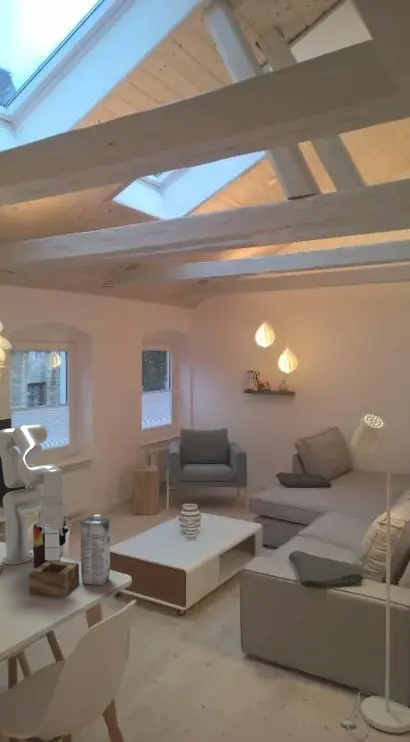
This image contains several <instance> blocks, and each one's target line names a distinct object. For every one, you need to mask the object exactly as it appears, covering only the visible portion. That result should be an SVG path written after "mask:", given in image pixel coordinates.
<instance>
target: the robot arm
mask: <svg viewBox="0 0 410 742" xmlns="http://www.w3.org/2000/svg"><path fill="white" fill-rule="evenodd" d="M47 438H48V431H47V428H46V427H45V426H44V425H43V424H41V423H34V424H33V423H32V424H24V425H19V426H17V427H16V426H15V427H9V428H3V429H1V430H0V458H1V465H2V473H3V475H2V476H3V482H4V485H5V486H6V488H10V489H13V488H21V487H27V486H28V487H29V488H24V489H16V490H12V491H8V492H7V493H5V495H4V496H3V498H2V505H3V510H4V516H5V517H4V518H5V519H4V520H5V553H6V554H5V556H3V558H2V563H3V564H4V565H5V564H6V565H9V566H10V565H11V566H16V565H22V564H26V563H28V562H30V561H31V560H33V554H31V553H30V551H31V550H33V544H30V545H29V525H28V524H29V521H28V518H27V516H25V514H24V513H23V512H25V511H30V510H34V509H37V508H40V510H39V511H40V519H39V518H38V520H37V521H36V522H35V523H36V526H37V527H38V528H39V530H40V531H41V534H43V544H45V524H49V525H50V528H51V529H54V530H59V532H60V534H61V535H60V536H59V541H60V546H62V545H63V546H64V545H65V543H66V540H67V539H66V534H67V533H68V532H69V531H70V530H71V529H72V528H73V524H72V523H71V522H70V521H69V520H68V516H67V508H66V503H65V502H64V482H63V481H64V477H63V474H64V473H63V469H62V468H60V467H58V466H57V465H56V464H53V463H48V464H41V465H36V464H35V463H34V464H33V463H31V462H33V461H35V460H36V459H38V458H39V457H40V455H41V454H42V453H43V447H42V445H41V444H42V443H44V442H46V440H47ZM16 447H17V448H18V449H16ZM30 463H31V464H30Z"/></svg>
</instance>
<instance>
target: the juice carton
mask: <svg viewBox="0 0 410 742" xmlns="http://www.w3.org/2000/svg"><path fill="white" fill-rule="evenodd" d="M101 516H102V515H101V514H94V515H93V516H88V517H87V518H85V519H84V520H81V522H80V565H81V566H80V571H81V572H80V573H81V580H82V584H87V585H96V586H102V585H104V583H106V581H108V580H109V578H110V574H111V573H110V572H111V559H110V558H111V555H110V552H111V549H110V545H111V543H110V542H111V541H110V538H111V537H110V534H111V533H110V518H108V517H101Z"/></svg>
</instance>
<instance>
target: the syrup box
mask: <svg viewBox="0 0 410 742" xmlns="http://www.w3.org/2000/svg"><path fill="white" fill-rule="evenodd" d="M60 535H61V534H60V532H59V530H54V529H51V528H50V525H49V524H45V560H59V559H60V560H61V558H62V557H63V556H64V544H63V545H62V546H60V541H59V536H60Z"/></svg>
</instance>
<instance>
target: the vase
mask: <svg viewBox="0 0 410 742" xmlns="http://www.w3.org/2000/svg"><path fill="white" fill-rule="evenodd" d="M39 519H40V510H39V512H38V520H39ZM32 545H33V548H32V551H33V552H32V561H33V568H34V570H35V569H36V568H38V567H39V566H41V565H42V564H43V563H45V562H46V561H48V560H45V544H43V534H41V531H40V530H39V528H38V527H37V526H36V522H35V523H33V526H32ZM52 561H61V558H60V559H59V560H52Z"/></svg>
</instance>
